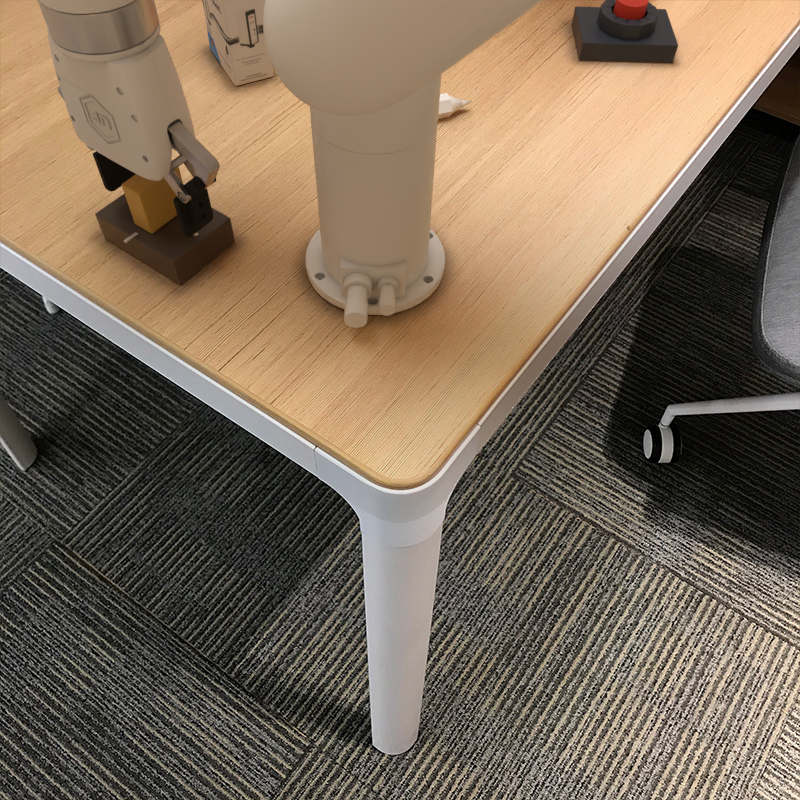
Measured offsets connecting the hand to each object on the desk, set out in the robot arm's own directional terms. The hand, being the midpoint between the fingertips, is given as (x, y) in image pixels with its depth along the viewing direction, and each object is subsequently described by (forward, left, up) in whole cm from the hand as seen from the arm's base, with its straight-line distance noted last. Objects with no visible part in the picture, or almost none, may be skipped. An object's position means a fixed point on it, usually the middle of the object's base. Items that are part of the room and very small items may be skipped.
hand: (159, 204), depth 68 cm
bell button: (+36, -47, -1) cm, 59 cm away
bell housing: (+36, -47, -4) cm, 59 cm away
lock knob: (0, 0, -1) cm, 1 cm away
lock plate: (0, 0, -4) cm, 4 cm away
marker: (+19, -21, -4) cm, 29 cm away
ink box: (+29, -3, -4) cm, 30 cm away
